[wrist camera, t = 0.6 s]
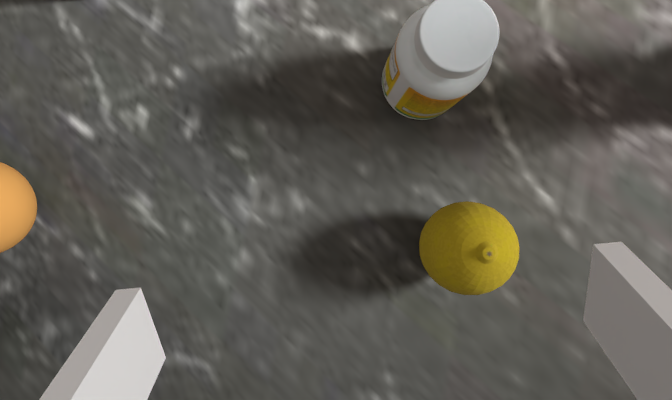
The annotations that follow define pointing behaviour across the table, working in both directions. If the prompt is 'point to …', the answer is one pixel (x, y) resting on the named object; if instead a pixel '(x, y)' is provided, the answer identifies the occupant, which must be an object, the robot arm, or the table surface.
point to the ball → (15, 207)
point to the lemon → (469, 248)
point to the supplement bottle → (440, 57)
